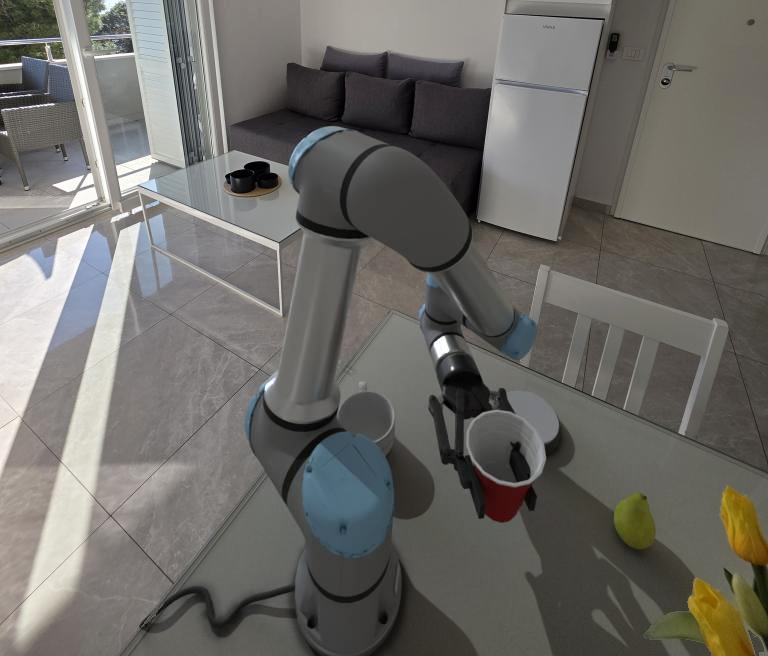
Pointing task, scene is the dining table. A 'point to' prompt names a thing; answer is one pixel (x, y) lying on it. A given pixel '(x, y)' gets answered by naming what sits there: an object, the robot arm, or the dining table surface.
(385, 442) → the teacup
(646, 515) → the fruit
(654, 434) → the dining table surface
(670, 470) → the dining table surface
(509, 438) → the plastic cup
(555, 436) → the scale
